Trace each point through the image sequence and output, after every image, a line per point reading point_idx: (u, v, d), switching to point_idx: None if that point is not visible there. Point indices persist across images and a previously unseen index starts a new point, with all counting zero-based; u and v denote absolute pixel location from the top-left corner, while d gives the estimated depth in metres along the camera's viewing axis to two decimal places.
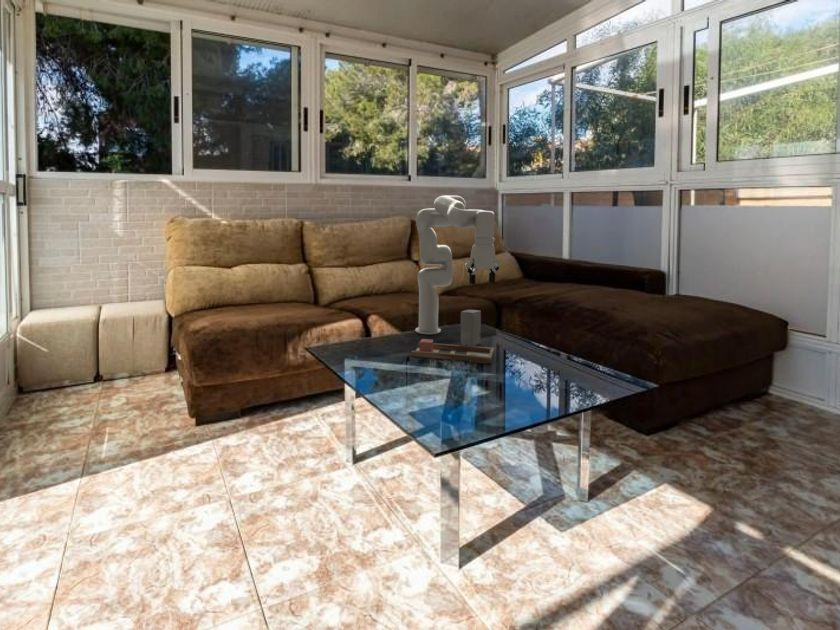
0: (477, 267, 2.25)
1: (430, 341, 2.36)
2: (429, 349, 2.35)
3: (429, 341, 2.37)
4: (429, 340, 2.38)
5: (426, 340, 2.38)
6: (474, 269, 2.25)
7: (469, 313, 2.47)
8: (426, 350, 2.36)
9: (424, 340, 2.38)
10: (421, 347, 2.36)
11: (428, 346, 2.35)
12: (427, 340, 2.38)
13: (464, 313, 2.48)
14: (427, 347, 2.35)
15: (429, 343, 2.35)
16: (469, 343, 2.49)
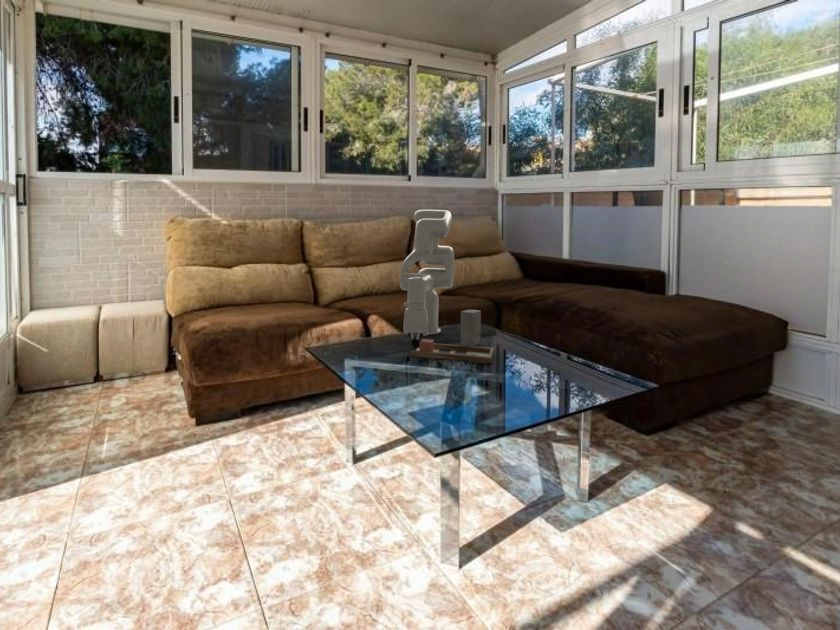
0: None
1: (430, 341, 2.36)
2: (429, 349, 2.35)
3: (429, 341, 2.37)
4: (429, 340, 2.38)
5: (426, 340, 2.38)
6: None
7: (469, 313, 2.47)
8: (426, 350, 2.36)
9: (424, 340, 2.38)
10: (421, 347, 2.36)
11: (428, 346, 2.35)
12: (427, 340, 2.38)
13: (464, 313, 2.48)
14: (427, 347, 2.35)
15: (429, 343, 2.35)
16: (469, 343, 2.49)
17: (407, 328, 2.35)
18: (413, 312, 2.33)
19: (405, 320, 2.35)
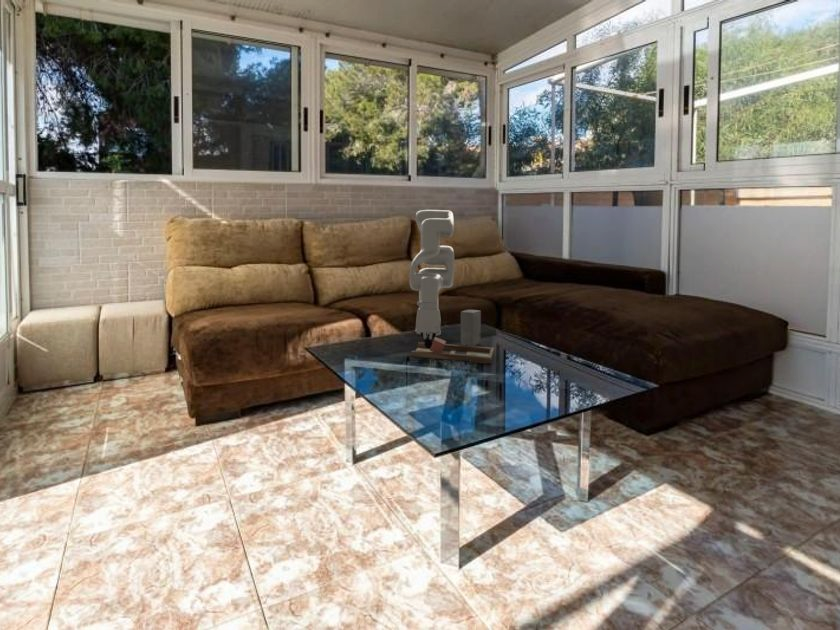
0: None
1: (443, 342, 2.35)
2: (440, 350, 2.34)
3: (442, 341, 2.36)
4: (442, 341, 2.37)
5: (439, 340, 2.36)
6: None
7: (469, 313, 2.47)
8: (437, 350, 2.35)
9: (437, 339, 2.37)
10: (433, 345, 2.34)
11: (440, 347, 2.34)
12: (440, 340, 2.37)
13: (464, 313, 2.48)
14: (439, 347, 2.34)
15: (442, 344, 2.34)
16: (469, 343, 2.49)
17: (420, 328, 2.34)
18: (426, 311, 2.32)
19: (418, 320, 2.33)
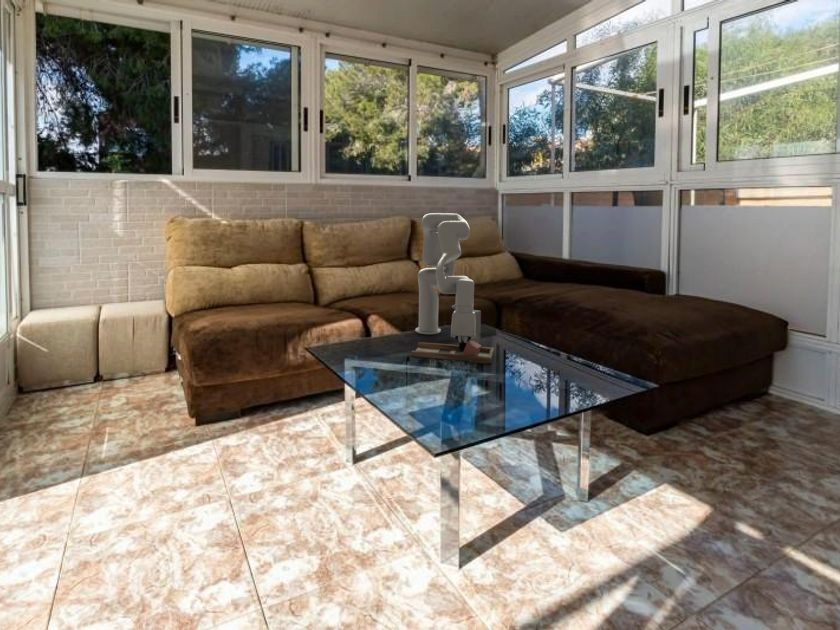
0: None
1: (477, 346, 2.30)
2: (473, 353, 2.30)
3: (476, 345, 2.31)
4: (477, 344, 2.32)
5: (474, 343, 2.32)
6: None
7: None
8: (470, 353, 2.30)
9: (472, 342, 2.32)
10: (466, 348, 2.31)
11: (473, 350, 2.29)
12: (475, 344, 2.32)
13: None
14: (472, 351, 2.30)
15: (475, 348, 2.29)
16: None
17: (455, 331, 2.31)
18: (461, 315, 2.29)
19: (453, 323, 2.31)
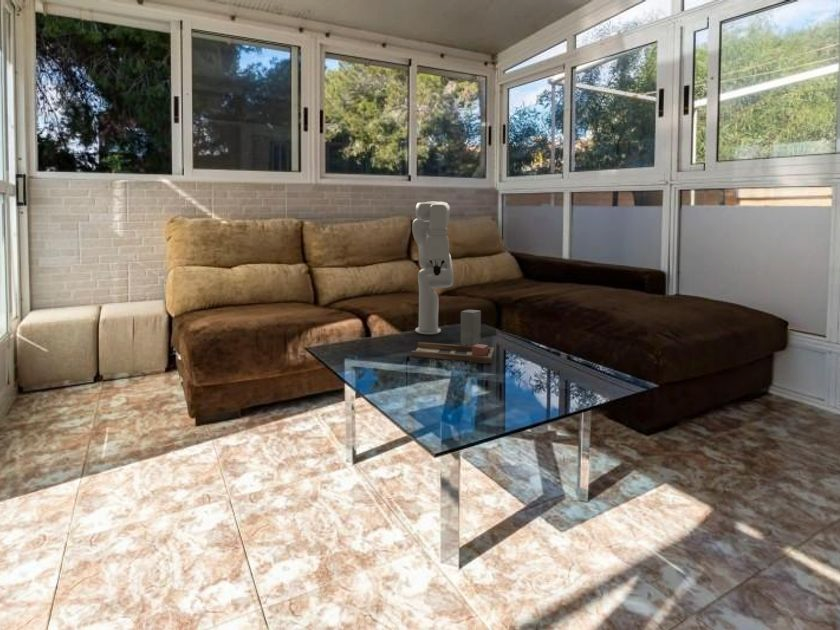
0: None
1: (483, 346, 2.30)
2: (481, 354, 2.29)
3: (482, 346, 2.30)
4: (483, 345, 2.31)
5: (480, 345, 2.32)
6: (442, 261, 2.43)
7: (469, 313, 2.47)
8: (478, 355, 2.30)
9: (478, 345, 2.32)
10: (474, 352, 2.31)
11: (480, 351, 2.29)
12: (481, 345, 2.32)
13: (464, 313, 2.48)
14: (479, 352, 2.29)
15: (481, 348, 2.28)
16: (469, 343, 2.49)
17: (429, 254, 2.40)
18: (435, 238, 2.38)
19: (427, 247, 2.39)
